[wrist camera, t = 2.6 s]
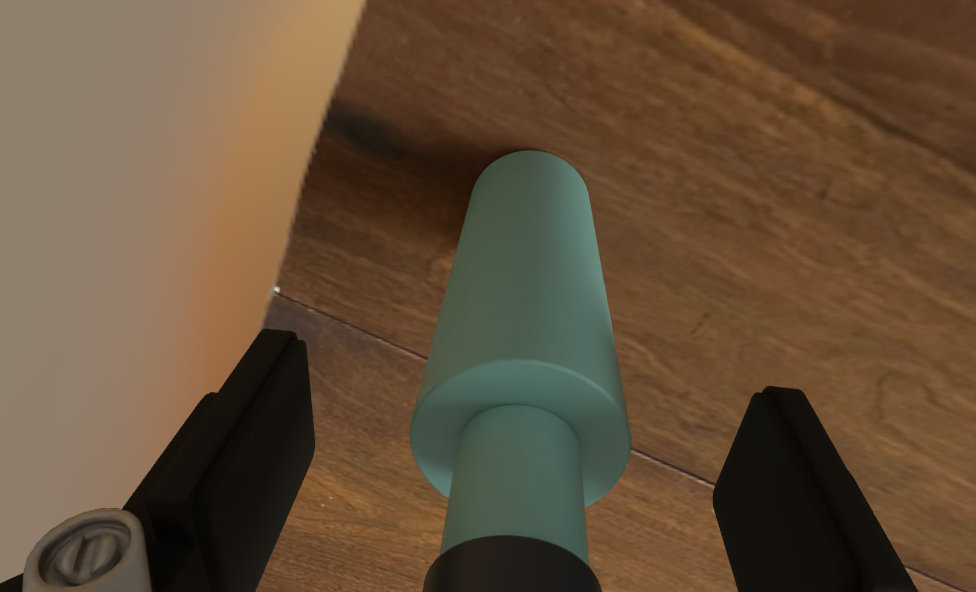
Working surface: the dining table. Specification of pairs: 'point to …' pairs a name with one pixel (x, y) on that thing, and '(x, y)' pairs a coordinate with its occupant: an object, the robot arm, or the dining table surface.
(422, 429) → the bottle
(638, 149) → the dining table surface
